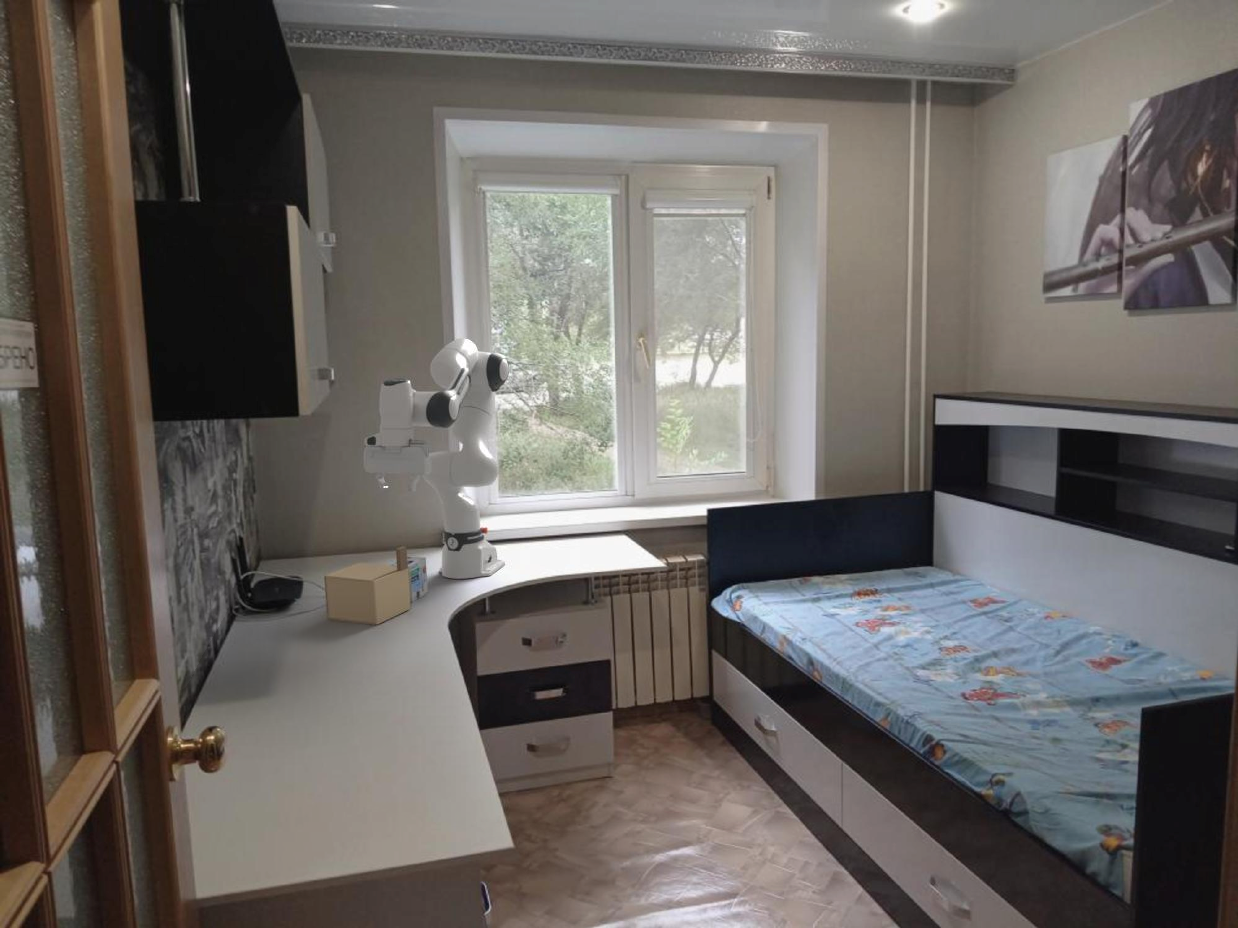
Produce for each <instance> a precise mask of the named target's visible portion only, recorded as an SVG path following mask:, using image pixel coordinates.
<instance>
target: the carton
mask: <svg viewBox="0 0 1238 928" xmlns="http://www.w3.org/2000/svg"><path fill="white" fill-rule="evenodd" d="M396 571H397V566H390V565H386V564H377V563H376V564H375V563H366V562H357V563H355V564H352V565H350V566H346V567H344V568H340V569H338V570H336V571H332V572H330V573H327V574H325V575H323V576H324V577H323V578H324V579H323V580H324V593H325V604H326V605H325V606H326V617H327V620H332V619H333V621H340V622H347V621H348V623H355V624H362V623H363V624H362V625H370V624H372V625H371V626H377V625H378V624H376V621H375V607H374V592H373V581H374V580H376V579H379V578H381V577H384V576H386V575H389V574H391V573H394V572H396Z"/></svg>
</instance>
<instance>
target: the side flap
mask: <svg viewBox="0 0 1238 928" xmlns="http://www.w3.org/2000/svg"><path fill="white" fill-rule="evenodd" d="M395 557H396V562H397V571H396V572H394V573H391V574H389V575H386V576H384V577H381V578H379V579H376V580H374V581H373V592H374V607H375V621H376V624H377V625H380V624H382V623H383V622H385V621H388V620H390V619H391V618H394V617H396V616H398V615H400V614H403V613H405V612H406V611H409V610H410V609H411V602H410V590H409V574H408V563H407V557H408V549H407V546H404V545H403V546H401V547H397V548H395Z"/></svg>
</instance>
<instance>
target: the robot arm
mask: <svg viewBox="0 0 1238 928" xmlns="http://www.w3.org/2000/svg"><path fill="white" fill-rule="evenodd" d="M429 368H430V374H431V375H430V376H431V377H432V380H434V382H435V383H436V385H438V387H441V389H445V390H441V391H417V390H415V389H414V388H413V387H412V383H411V380H409V379H406V378H393V379H388V380H384V382H382V383H381V386H380V392H379V406H378V407H379V415H380V425H379V432H378V433H375V434H373V435H371V436H367V437H365V438H364V441H363V442H364V445H365V446H366V447H365V448H364V450H363V469H364V471H365V472H366V473H371V474H372V473H374V474H375V478H376V480H377V482H378V484H379V490H382V491H385V490H388V489H389V486H388V485H389V482H386V481H385V478H384V477H385V476H386V474H392V475H393V474H394V475H395V474H396V475H410V479H412V480H411V481H410V484H407V492H416V491H417V485H418V482H419V481H420V478H421V476H422V478H423V480H424V481H425V482H426V484H429V485H430V486H431V487H432V488H433V489H434V491H435V492H436V493H435V494H437V496H438V499H439V500H440V502H441V507H442V513H443V521H444V523H443V524H444V531H443V535H442V536H443V542H444V545H443V546H442V548H441V549H442V551H441V552H442V553H441V567H439V570H438V571H439V572H440V573H441V575H442V577H445V578H448V579H454V580H455V579H459V580H461V579H462V580H463V579H473V578H480V577H490V576H492V575H493V574H495V573H496V572H497V571H499V569H501V568H502V567H504V566H505V565H506V562H505V561H504V560H501V559H498V552H497V548H496V547H495V546H494V545H493V544H491V543H490V542H489V541H487V540H486V539H485V536H484V534H488V532H489V528H488V527H486V526H485V527H484V526H481V517H480V515H481V513H480V505H479V504H478V502H477V501H476V500H475V499H474V498H472V497H471V496H470V495H468V493H467V492H466V490H465V488H481V487H487V486H491V485H493V484H494V483H495V482H496V480H497V478H498V475H499V469H500V467H499V463H498V461H497V460H496V458H495V457H494V455H492V454H491V452H490V450H489V447H488V438H489V437H488V436H489V432H490V427H491V424H492V423H491V422H492V420H493V417H494V416H493V415H494V411H495V404H496V393H495V392H498V391H499V390H500V388H501V387H502V386H503V385H504V384H505V383H506V381H507V380H508V378H509V374H510V365H509V361H508V359H507V357H506V356H505V355H504V354H502V353H498V352H487V351H486V352H485V351H479V350H478V348H477V345H476V344H475V343H474V342H473V341H471V340H470V339H467V338H464V337H463V338H462V337H460V338H455V339H454V340H453V341H450V342H449V343H448V344H447V345H444V346H443V348H441V350H439V352H437V353H436V355H435V356H434V357H433V359H432V361H431V363H430V367H429ZM452 425H453V427H452V433H453V437H454V438H455V440H456V441H458V442H459V443H460V444H461V445H462V448H461V450H459V451H449V450H448V451H447V450H446V451H445V450H444V451H442V450H440V451H436V452H431V453H430V444H429V443H428V442H426V441H425V440H423V439H420V440H417V439H415V438H414V437H415V436H414V435H415V433H414V431H415V429H414V427H434V428H443V429H447V428H450V427H451V426H452Z"/></svg>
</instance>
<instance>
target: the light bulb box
mask: <svg viewBox="0 0 1238 928" xmlns="http://www.w3.org/2000/svg"><path fill="white" fill-rule="evenodd" d="M407 563H408V574H409V590H410V603H414V602H416V601H417V600H418V599H420V598H422V597H423V596H425V595H426V594H428V592H429V590H428V573H427V558H426V557H421V556H420V557H419V556H407ZM389 566H397V561H396V562H394V563H391V564H390V565H389Z"/></svg>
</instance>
